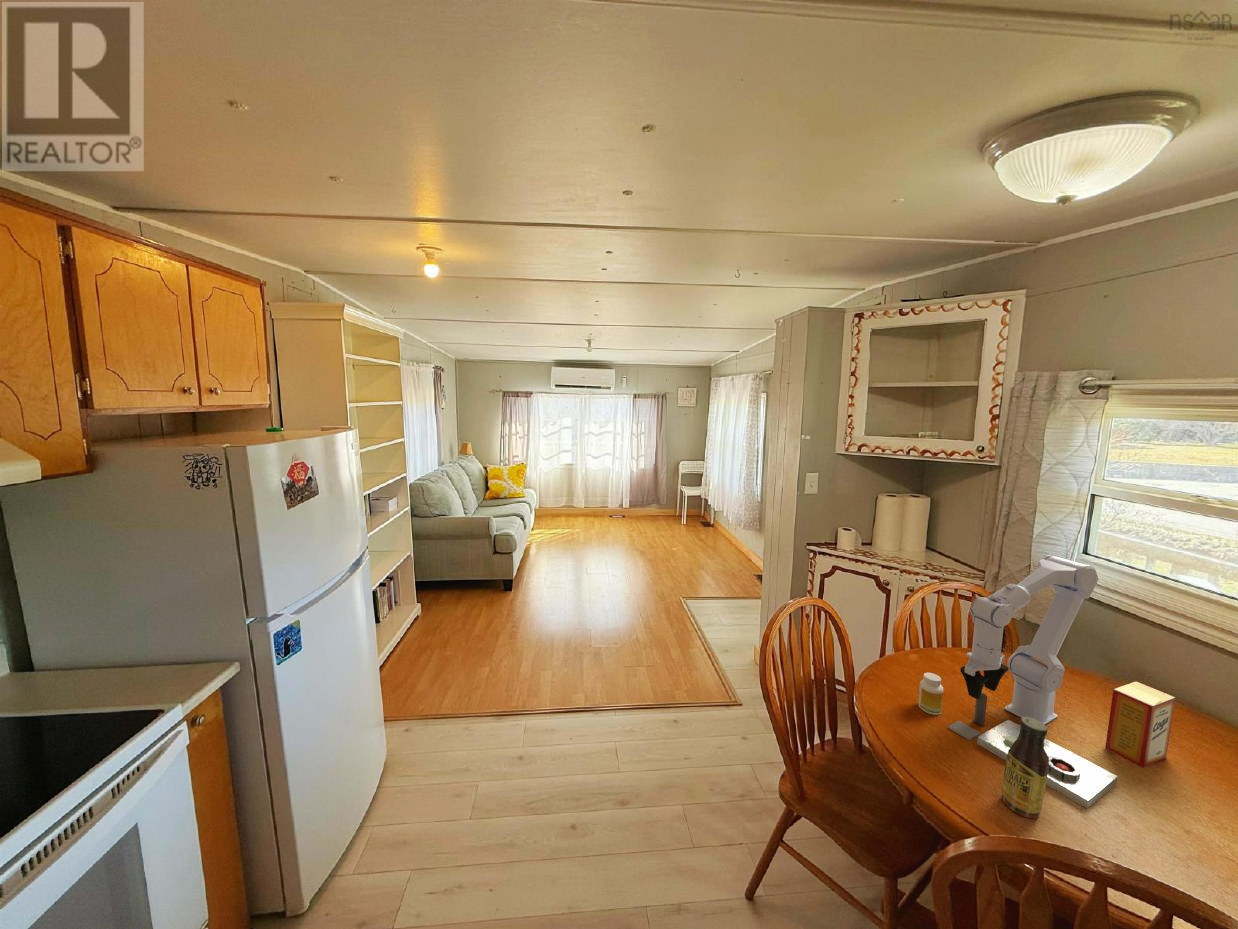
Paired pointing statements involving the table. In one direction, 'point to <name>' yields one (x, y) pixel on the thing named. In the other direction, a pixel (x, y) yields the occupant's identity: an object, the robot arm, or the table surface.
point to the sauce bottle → (1026, 770)
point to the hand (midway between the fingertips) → (981, 692)
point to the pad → (1010, 740)
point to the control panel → (1076, 784)
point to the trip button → (1062, 767)
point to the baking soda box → (1140, 723)
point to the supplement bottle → (931, 694)
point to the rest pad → (964, 730)
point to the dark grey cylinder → (980, 710)
